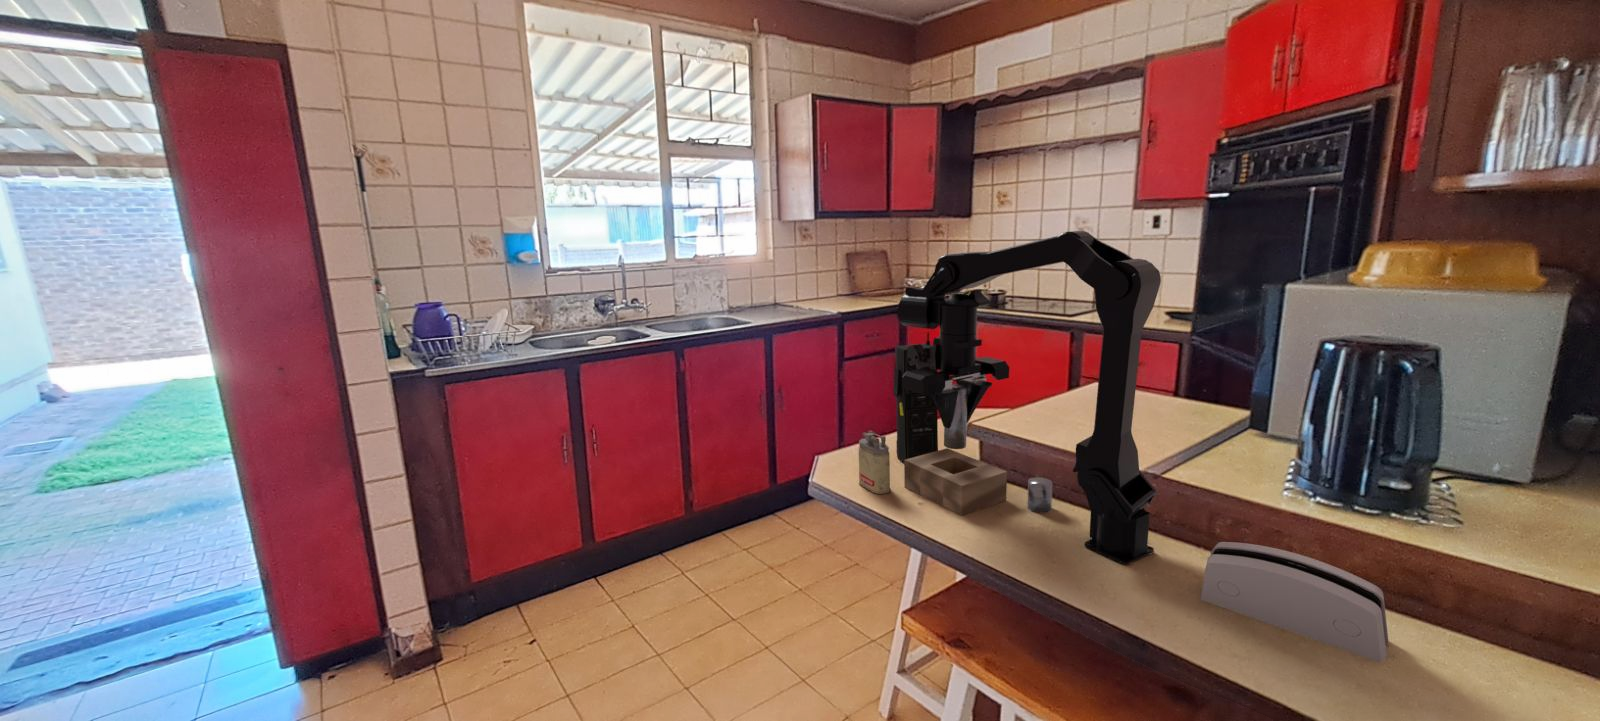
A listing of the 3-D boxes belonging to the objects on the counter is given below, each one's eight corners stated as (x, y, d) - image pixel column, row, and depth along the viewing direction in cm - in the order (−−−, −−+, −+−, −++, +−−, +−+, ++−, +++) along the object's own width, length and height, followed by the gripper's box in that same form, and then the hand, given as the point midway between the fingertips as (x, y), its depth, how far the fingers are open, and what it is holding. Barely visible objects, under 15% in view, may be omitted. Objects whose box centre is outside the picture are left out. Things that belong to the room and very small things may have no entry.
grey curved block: (1391, 641, 68) (1401, 573, 63) (1383, 675, 65) (1393, 606, 61) (1210, 581, 80) (1209, 521, 76) (1198, 608, 77) (1195, 547, 73)
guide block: (1006, 500, 105) (1007, 471, 104) (961, 515, 100) (961, 485, 99) (947, 474, 117) (947, 448, 116) (904, 486, 112) (904, 459, 111)
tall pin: (970, 446, 105) (972, 387, 103) (954, 450, 104) (956, 391, 101) (955, 440, 108) (956, 383, 106) (939, 444, 107) (940, 386, 104)
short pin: (1056, 509, 101) (1057, 482, 100) (1040, 515, 100) (1042, 488, 99) (1037, 501, 104) (1038, 475, 103) (1022, 506, 103) (1023, 480, 102)
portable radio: (902, 467, 121) (901, 338, 116) (890, 457, 127) (888, 333, 122) (940, 462, 123) (941, 335, 118) (926, 452, 129) (926, 330, 123)
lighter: (855, 482, 115) (853, 429, 113) (872, 478, 117) (871, 426, 115) (877, 496, 109) (877, 440, 107) (895, 491, 111) (895, 436, 109)
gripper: (963, 320, 113) (961, 404, 117) (880, 332, 104) (880, 423, 107) (1013, 328, 104) (1009, 419, 107) (926, 342, 95) (925, 441, 98)
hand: (955, 425), depth 105 cm, fingers closed on tall pin, 4 cm apart
